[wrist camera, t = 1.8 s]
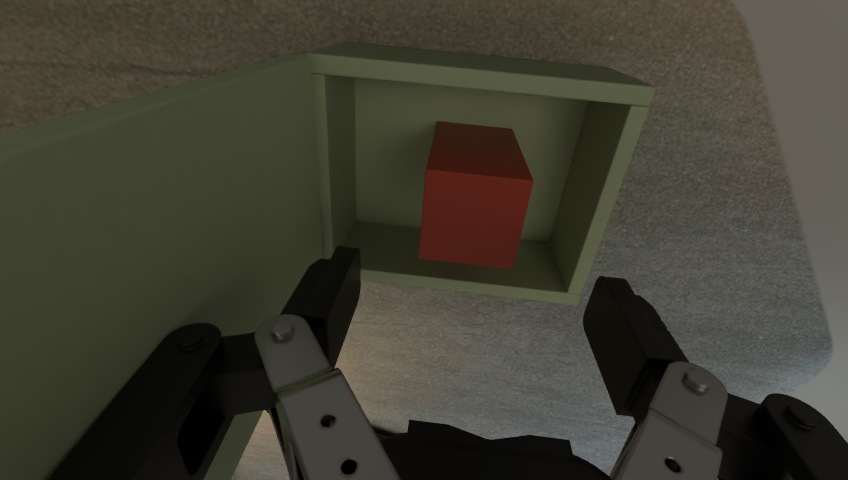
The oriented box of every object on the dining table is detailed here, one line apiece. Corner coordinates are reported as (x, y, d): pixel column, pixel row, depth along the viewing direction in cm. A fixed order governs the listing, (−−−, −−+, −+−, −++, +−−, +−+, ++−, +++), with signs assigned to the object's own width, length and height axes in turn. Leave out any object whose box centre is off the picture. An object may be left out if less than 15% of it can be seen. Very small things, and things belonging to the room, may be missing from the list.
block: (437, 120, 23) (425, 169, 16) (512, 128, 23) (534, 180, 16) (430, 190, 25) (418, 258, 18) (499, 197, 25) (513, 269, 18)
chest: (608, 67, 21) (658, 86, 16) (554, 247, 27) (577, 306, 22) (344, 41, 22) (304, 52, 16) (348, 224, 28) (320, 276, 22)
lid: (-379, 276, 3) (-1070, 202, 3) (129, 696, 9) (-99, 668, 9) (310, 54, 16) (185, 42, 16) (325, 281, 22) (233, 271, 22)
